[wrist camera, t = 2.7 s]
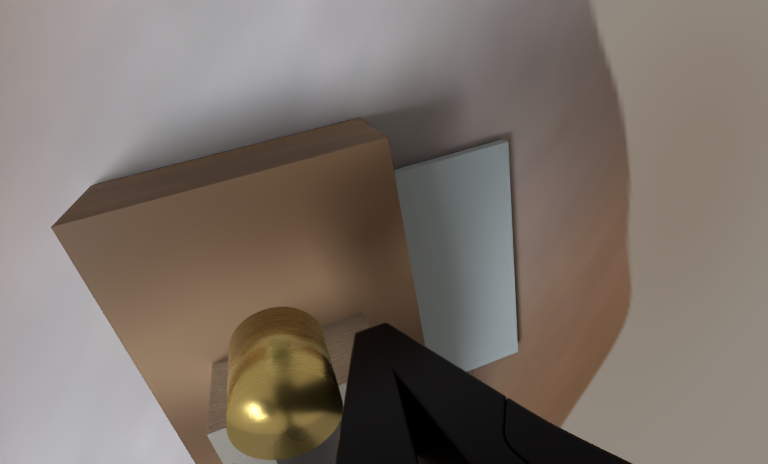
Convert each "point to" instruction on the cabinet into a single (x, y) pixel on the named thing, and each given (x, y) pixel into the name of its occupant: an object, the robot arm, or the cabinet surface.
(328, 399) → the lever
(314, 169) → the body
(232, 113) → the cabinet surface
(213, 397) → the grey block
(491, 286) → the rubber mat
